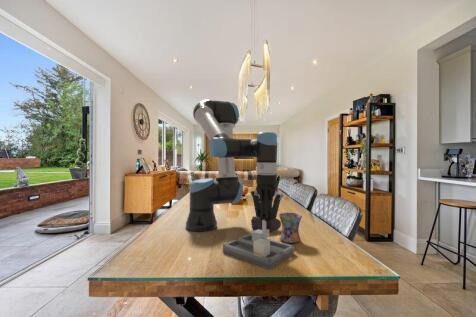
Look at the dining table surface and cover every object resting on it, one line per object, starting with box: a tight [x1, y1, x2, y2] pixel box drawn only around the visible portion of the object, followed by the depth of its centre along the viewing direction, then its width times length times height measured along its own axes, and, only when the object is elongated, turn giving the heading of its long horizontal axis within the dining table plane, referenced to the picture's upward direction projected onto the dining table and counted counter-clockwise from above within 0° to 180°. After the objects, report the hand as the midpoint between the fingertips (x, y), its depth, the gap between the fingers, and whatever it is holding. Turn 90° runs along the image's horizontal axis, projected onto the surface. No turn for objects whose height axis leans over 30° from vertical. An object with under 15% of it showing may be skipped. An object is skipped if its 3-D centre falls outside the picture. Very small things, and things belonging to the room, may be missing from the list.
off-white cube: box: [253, 238, 270, 257], centre depth 78 cm, size 4×4×4 cm
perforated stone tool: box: [250, 215, 282, 232], centre depth 109 cm, size 15×5×7 cm, turn 99°
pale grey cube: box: [251, 229, 268, 242], centre depth 89 cm, size 4×4×4 cm
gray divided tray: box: [222, 233, 295, 270], centre depth 84 cm, size 20×16×3 cm
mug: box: [278, 212, 303, 244], centre depth 98 cm, size 12×9×11 cm
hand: (265, 237), depth 87 cm, fingers closed
